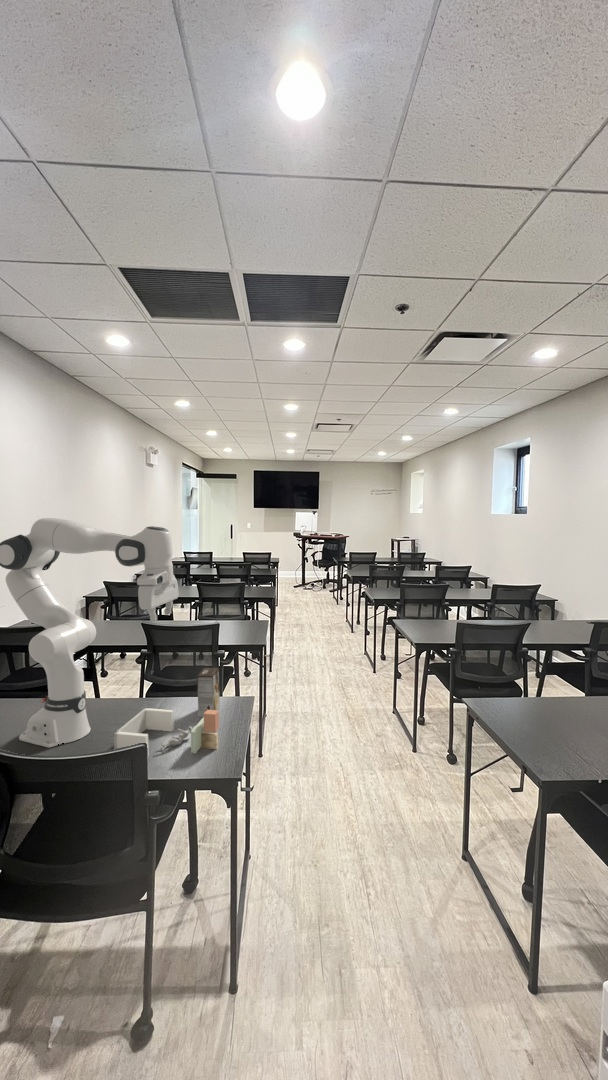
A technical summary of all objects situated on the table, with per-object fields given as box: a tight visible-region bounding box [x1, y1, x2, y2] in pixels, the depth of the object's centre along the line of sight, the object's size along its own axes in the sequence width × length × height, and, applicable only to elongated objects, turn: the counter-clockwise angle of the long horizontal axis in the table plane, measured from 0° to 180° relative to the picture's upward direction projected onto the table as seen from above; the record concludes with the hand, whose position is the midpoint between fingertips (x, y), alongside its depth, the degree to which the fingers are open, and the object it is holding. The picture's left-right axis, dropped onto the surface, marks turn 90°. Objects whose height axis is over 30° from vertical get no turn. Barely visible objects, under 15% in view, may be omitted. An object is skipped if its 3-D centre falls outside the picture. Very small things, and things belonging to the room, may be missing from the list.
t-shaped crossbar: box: [190, 709, 220, 754], centre depth 148 cm, size 6×12×11 cm, turn 170°
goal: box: [113, 707, 175, 757], centre depth 152 cm, size 11×19×7 cm, turn 170°
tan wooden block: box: [199, 732, 219, 750], centre depth 148 cm, size 8×2×5 cm, turn 80°
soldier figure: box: [158, 725, 194, 752], centre depth 150 cm, size 8×5×12 cm
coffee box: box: [196, 667, 221, 718], centre depth 174 cm, size 9×6×16 cm
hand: (161, 617), depth 148 cm, fingers open, 8 cm apart
